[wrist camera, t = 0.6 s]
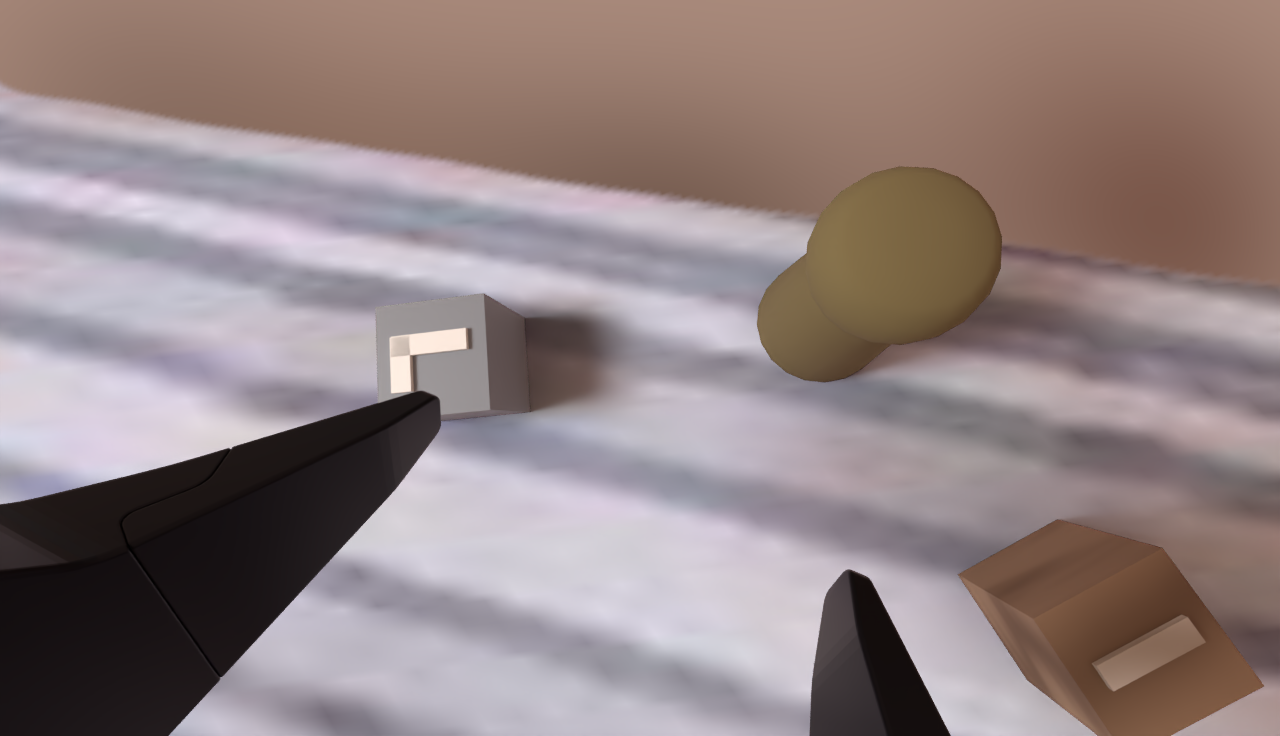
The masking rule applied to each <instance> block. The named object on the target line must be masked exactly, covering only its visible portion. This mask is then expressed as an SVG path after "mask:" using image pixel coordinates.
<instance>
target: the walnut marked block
mask: <svg viewBox="0 0 1280 736" xmlns="http://www.w3.org/2000/svg"><path fill="white" fill-rule="evenodd" d="M958 576H959V577H960V579H961V580H962V582H963V583H964V585H965V586H966V588H967V589H968V591H969V592H970V594H971V595H972V597H973V598H974V600H975V601H976V603H977V604H978V606H979V608H980V609H981V611H982V612H983V614H984V615H985V617H986V618H987V620H988V621H989V623H990V624H991V626H992V627H993V629H994V630H995V632H996V633H997V635H998V636H999V638H1000V639H1001V641H1002V643H1003V644H1004V646H1005V647H1006V649H1007V650H1008V652H1009V653H1010V655H1011V656H1012V658H1013V659H1014V661H1015V662H1016V664H1017V665H1018V667H1019V668H1020V670H1021V671H1022V673H1023V674H1024V676H1025V677H1026V679H1027V680H1028V681H1029V682H1030V683H1032V684H1033V685H1034V686H1035V687H1037V688H1038V689H1039V690H1041V691H1042V692H1043V693H1044V694H1046V695H1047V696H1048V697H1049V698H1051V699H1052V700H1053V701H1055V702H1056V703H1057V704H1058V705H1060V706H1061V707H1062V708H1064V709H1065V710H1066V711H1067V712H1069V713H1070V714H1071V715H1072V716H1074V717H1075V718H1076V719H1078V720H1079V721H1080V722H1081V723H1083V724H1084V725H1085V726H1086V727H1088V728H1089V729H1090V730H1092V731H1093V732H1094V733H1095V734H1097V735H1098V736H1171V735H1173V734H1174V733H1176V732H1178V731H1180V730H1182V729H1184V728H1186V727H1188V726H1190V725H1191V724H1193V723H1195V722H1197V721H1199V720H1201V719H1203V718H1205V717H1207V716H1209V715H1210V714H1212V713H1214V712H1216V711H1218V710H1220V709H1222V708H1224V707H1226V706H1228V705H1229V704H1231V703H1233V702H1235V701H1237V700H1239V699H1241V698H1243V697H1245V696H1247V695H1248V694H1250V693H1252V692H1254V691H1256V690H1258V689H1260V688H1262V687H1264V685H1263V684H1262V682H1261V681H1260V680H1259V678H1258V677H1257V676H1256V674H1255V673H1254V671H1253V670H1252V669H1251V667H1250V666H1249V665H1248V663H1247V662H1246V661H1245V659H1244V658H1243V657H1242V655H1241V654H1240V652H1239V651H1238V650H1237V648H1236V647H1235V646H1234V644H1233V643H1232V642H1231V640H1230V639H1229V638H1228V636H1227V635H1226V633H1225V632H1224V631H1223V629H1222V628H1221V627H1220V625H1219V624H1218V623H1217V621H1216V620H1215V619H1214V617H1213V616H1212V614H1211V613H1210V612H1209V610H1208V609H1207V608H1206V606H1205V605H1204V604H1203V602H1202V601H1201V600H1200V598H1199V597H1198V595H1197V594H1196V593H1195V591H1194V590H1193V589H1192V587H1191V586H1190V585H1189V583H1188V582H1187V580H1186V579H1185V578H1184V576H1183V575H1182V574H1181V572H1180V571H1179V570H1178V568H1177V567H1176V566H1175V564H1174V563H1173V561H1172V560H1171V559H1170V557H1169V556H1168V555H1167V553H1166V552H1165V551H1164V549H1163V548H1161V547H1157V546H1153V545H1150V544H1146V543H1142V542H1139V541H1135V540H1131V539H1128V538H1124V537H1120V536H1117V535H1113V534H1109V533H1106V532H1102V531H1098V530H1095V529H1091V528H1087V527H1083V526H1080V525H1076V524H1072V523H1069V522H1065V521H1061V520H1058V519H1057V520H1055V521H1053V522H1052V523H1050V524H1048V525H1046V526H1044V527H1043V528H1041V529H1039V530H1037V531H1035V532H1034V533H1032V534H1030V535H1028V536H1026V537H1025V538H1023V539H1021V540H1019V541H1017V542H1016V543H1014V544H1012V545H1010V546H1008V547H1007V548H1005V549H1003V550H1001V551H999V552H998V553H996V554H994V555H992V556H990V557H989V558H987V559H985V560H983V561H981V562H980V563H978V564H976V565H974V566H972V567H971V568H969V569H967V570H965V571H963V572H962V573H960V574H958Z"/></svg>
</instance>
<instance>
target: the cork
mask: <svg viewBox="0 0 1280 736" xmlns="http://www.w3.org/2000/svg"><path fill="white" fill-rule="evenodd" d="M1001 248H1002V236H1001V233H1000V229H999V226H998V223H997V220H996V217H995V213H994V211H993V210H992V209H991V207H990V206H989V205H988V203H987V202H986V201H985V199H984V198H983V197H982V195H981V194H980V193H979V191H977V190H975V189H974V188H973V187H972V186H970V185H969V184H967V183H966V182H965V181H963V180H962V179H960V178H959V177H957V176H954V175H951V174H948V173H945V172H942V171H939V170H937V169H934V168H919V167H896V168H892V169H887V170H884V171H879V172H875V173H872V174H870V175H868V176H867V177H865V178H863V179H861V180H860V181H858V182H856V183H854V184H853V185H851V186H849V187H848V188H846V189H845V190H843V191H842V192H840V193H839V194H838V196H836V198H835V199H834V200H833V201H832V202H831V203H830V204H829V205H828V206H827V207H826V209H825V210H824V211H823V212H822V213H821V215H820V217H819V219H818V221H817V223H816V225H815V228H814V230H813V232H812V234H811V237H810V239H809V241H808V244H807V253H806V254H805V255H804V256H803V257H801V258H800V259H799V260H798V261H796V262H795V263H794V264H793V265H791V266H790V267H789V268H788V269H786V270H785V271H784V272H783V273H781V274H780V275H779V276H778V277H777V278H776V279H775V280H774V282H773V283H772V284H771V285H770V286H769V287H768V288H767V289H766V291H765V294H764V296H763V298H762V300H761V303H760V305H759V310H758V320H757V327H758V331H759V335H760V340H761V343H762V345H763V347H764V348H765V350H766V352H767V353H768V355H769V356H770V358H771V360H773V361H774V362H775V363H776V364H777V365H778V366H780V367H781V368H782V369H783V370H784V371H785V372H787V373H789V374H791V375H794V376H796V377H798V378H801V379H803V380H808V381H818V382H829V381H834V380H839V379H844V378H846V377H848V376H850V375H851V374H853V373H855V372H857V371H859V370H860V369H862V368H863V367H865V366H866V365H867V364H868V363H869V362H871V361H872V360H873V359H874V358H875V357H877V356H878V355H879V354H880V353H881V352H883V351H884V350H885V349H886V348H887V347H889V346H890V345H891V344H897V345H902V344H907V343H912V342H917V341H922V340H927V339H930V338H934V337H937V336H939V335H941V334H943V333H945V332H946V331H948V330H950V329H952V328H954V327H955V326H957V325H959V324H961V323H963V322H964V321H965V320H966V319H967V318H968V317H969V316H970V315H971V314H972V313H973V312H974V310H975V309H976V308H977V307H978V306H979V305H980V304H981V303H982V302H983V301H984V300H985V298H986V297H987V296H988V295H989V294H990V292H991V290H992V287H993V285H994V283H995V280H996V278H997V276H998V273H999V271H1000V269H1001Z"/></svg>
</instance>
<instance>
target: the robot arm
mask: <svg viewBox="0 0 1280 736" xmlns="http://www.w3.org/2000/svg"><path fill="white" fill-rule="evenodd" d="M440 426H441V409H440V399H439V398H438V397H437V396H436V395H433V394H431V393H429V392H426V391H422V390H421V391H416V392H413V393H409V394H406V395H403V396H399V397H396V398H393V399H389V400H386V401H383V402H380V403H376V404H373V405H370V406H366V407H363V408H360V409H356V410H353V411H350V412H347V413H343V414H340V415H337V416H333V417H330V418H327V419H323V420H320V421H317V422H313V423H310V424H307V425H304V426H300V427H297V428H294V429H290V430H287V431H284V432H280V433H277V434H274V435H270V436H267V437H264V438H261V439H257V440H254V441H251V442H247V443H244V444H241V445H237V446H234V447H232V449H229V448H227V449H224V450H220V451H217V452H214V453H211V454H207V455H204V456H200V457H197V458H193V459H190V460H186V461H183V462H179V463H176V464H172V465H169V466H165V467H161V468H157V469H153V470H149V471H145V472H141V473H138V474H134V475H130V476H126V477H121V478H117V479H113V480H109V481H105V482H101V483H97V484H92V485H88V486H84V487H80V488H76V489H72V490H68V491H63V492H59V493H55V494H51V495H47V496H43V497H39V498H34V499H29V500H25V501H20V502H14V503H7V504H0V736H169V735H170V733H171V732H172V731H173V730H174V729H175V728H176V727H177V726H178V725H179V724H180V723H181V722H182V720H183V719H184V718H185V717H186V716H187V715H188V714H189V713H190V712H191V711H192V710H193V709H194V707H195V706H196V705H197V704H198V703H199V702H200V701H201V700H202V699H203V698H204V697H205V696H206V694H207V693H208V692H209V691H210V690H211V689H212V688H213V687H214V686H215V685H216V684H217V683H218V682H219V680H220V677H222V676H224V675H225V673H226V672H227V671H228V670H229V669H230V668H231V667H232V666H233V665H234V664H235V663H236V662H237V660H238V659H239V658H240V657H241V656H242V655H243V654H244V653H245V652H246V651H247V650H248V649H249V647H250V646H251V645H252V644H253V643H254V642H255V641H256V640H257V639H258V638H259V637H260V636H261V634H262V633H263V632H264V631H265V630H266V629H267V628H268V627H269V626H270V625H271V624H272V623H273V622H274V620H275V619H276V618H277V617H278V616H279V615H280V614H281V613H282V612H283V611H284V610H285V609H286V607H287V606H288V605H289V604H290V603H291V602H292V601H293V600H294V599H295V598H296V597H297V596H298V594H299V593H300V592H301V591H302V590H303V589H304V588H305V587H306V586H307V585H308V584H309V583H310V581H311V580H312V579H313V578H314V577H315V576H316V575H317V574H318V573H319V572H320V571H321V570H322V568H323V567H324V566H325V565H326V564H327V563H328V562H329V561H330V560H331V559H332V558H333V557H334V555H335V554H336V553H337V552H338V551H339V550H340V549H341V548H342V547H343V546H344V545H345V544H346V542H347V541H348V540H349V539H350V538H351V537H352V536H353V535H354V534H355V533H356V532H357V531H358V530H359V528H360V527H361V526H362V525H363V524H364V523H365V522H366V521H367V520H368V519H369V518H370V517H371V515H372V514H373V513H374V512H375V511H376V510H377V509H378V508H379V507H380V506H381V505H382V504H383V502H384V501H385V500H386V499H387V498H388V497H389V496H390V495H391V494H392V492H393V491H394V490H395V489H396V488H397V487H398V485H399V484H400V483H401V482H402V480H403V479H404V478H405V476H406V475H407V474H408V472H409V471H410V470H411V468H412V467H413V466H414V464H415V463H416V462H417V460H418V459H419V458H420V456H421V455H422V454H423V452H424V451H425V450H426V448H427V447H428V446H429V444H430V443H431V442H432V440H433V439H434V438H435V436H436V435H437V433H438V432H439V429H440ZM810 736H951V735H950V733H949V731H948V729H947V728H946V726H945V724H944V722H943V720H942V718H941V716H940V714H939V712H938V710H937V708H936V706H935V704H934V702H933V700H932V698H931V696H930V694H929V692H928V690H927V688H926V687H925V685H924V683H923V681H922V679H921V677H920V675H919V673H918V671H917V669H916V667H915V665H914V663H913V661H912V659H911V657H910V655H909V653H908V651H907V649H906V647H905V646H904V644H903V642H902V640H901V638H900V636H899V634H898V632H897V630H896V628H895V626H894V624H893V622H892V620H891V618H890V616H889V614H888V612H887V610H886V608H885V607H884V605H883V603H882V601H881V599H880V597H879V595H878V593H877V591H876V589H875V587H874V585H873V583H872V581H871V580H870V579H869V578H868V577H867V576H864V575H862V574H860V573H857V572H855V571H853V570H846V571H844V572H843V573H842V574H841V576H840V577H839V578H838V579H837V580H836V582H835V583H834V584H833V585H832V587H831V588H830V589H829V590H828V592H827V594H826V597H825V600H824V605H823V612H822V618H821V625H820V631H819V637H818V644H817V650H816V657H815V663H814V670H813V678H812V691H811V713H810Z"/></svg>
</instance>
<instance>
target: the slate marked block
mask: <svg viewBox="0 0 1280 736" xmlns="http://www.w3.org/2000/svg"><path fill="white" fill-rule="evenodd" d="M375 309H376V346H377V384H378V403H380V402H383V401H386V400H389V399H393V398H396V397H399V396H403V395H406V394H409V393H413V392H416V391H421V390H422V391H426V392H429V393H431V394H433V395H436V396H437V397H438V398H439V399H440V409H441V421H445V420H455V419H465V418H475V417H486V416H496V415H506V414H516V413H526V412H531V410H530V395H529V379H528V364H527V349H526V333H525V318H524V317H522V316H521V315H519V314H517V313H516V312H514V311H512V310H511V309H509V308H507V307H506V306H504V305H502V304H501V303H499V302H497V301H495V300H494V299H492V298H490V297H489V296H487V295H485V294H476V295H468V296H460V297H452V298H445V299H437V300H429V301H421V302H413V303H405V304H398V305H390V306H382V307H375Z"/></svg>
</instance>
